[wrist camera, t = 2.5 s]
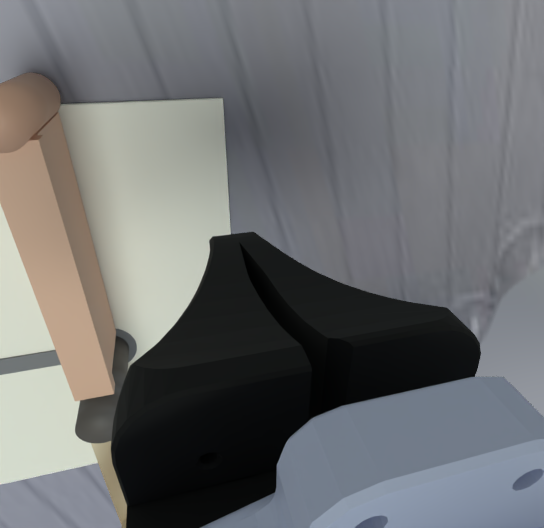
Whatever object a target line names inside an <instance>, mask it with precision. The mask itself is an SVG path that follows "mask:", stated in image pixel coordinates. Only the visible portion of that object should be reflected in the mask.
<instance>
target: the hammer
mask: <svg viewBox="0 0 544 528" xmlns="http://www.w3.org/2000/svg"><path fill="white" fill-rule="evenodd" d="M128 359H129V345H128V343H127V342H126V341H125V340H124V339H123V338H121V337H118V336H116V338H115V348H114V357H113V366H112V375H113V378H114V382H115V390H114V394H112V395H107V396H101V397H96V398H91V399H85V400H80V404H79V409H78V415H77V420H76V426H75V433H76V435H77V437H78V438H79V439H81V440H83V441H85V442H88V443H91V445H92V448H93V451H94V453H95V456H96V458H97V461H98V464H99V466H100V469H101V472H102V474H103V477H104V480H105V482H106V485H107V488H108V490H109V493H110V496H111V498H112V501H113V504H114V506H115V509H116V512H117V514H118V517H119V519H120V522H121V524H122V528H126V517H127V504H126V501H125V498H124V496H123V493H122V490H121V487H120V484H119V481H118V478H117V476H116V473H115V470H114V467H113V464H112V457H111V440H112V429H113V420H114V415H115V410H116V407H117V402H118V399H119V395H120V392H121V389H122V386H123V383H124V380H125V377H126V375H127V372H128Z"/></svg>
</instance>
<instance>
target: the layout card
mask: <svg viewBox="0 0 544 528" xmlns="http://www.w3.org/2000/svg"><path fill="white" fill-rule="evenodd" d="M58 112H59V115H60V119H61V123H62V127H63V131H64V135H65V138H66V142H67V146H68V150H69V154H70V157H71V161H72V165H73V169H74V173H75V176H76V180H77V184H78V188H79V192H80V196H81V199H82V203H83V207H84V211H85V215H86V218H87V222H88V226H89V230H90V234H91V237H92V241H93V245H94V249H95V253H96V257H97V260H98V264H99V268H100V272H101V276H102V279H103V283H104V287H105V291H106V295H107V298H108V302H109V306H110V310H111V314H112V318H113V321H114V325H115V329H116V336H118V337H121V338H123V339H124V340H125V341H126V342H127V343H128V345H129V359H128V369H129V367H130V365H131V364H132V363H134V362H135V361H136V360H138V359H139V358H140V357H141V356H143V355H144V354H145V353H146V352H147V351H149V350H150V349H151V348H152V347H153V346H155V345H156V344H157V343H158V342H159V341H160V340H161V339H162V338H163V337H164V336H165V335H166V333H167V332H168V331H169V330H170V329H171V328H172V327H173V326H174V325H175V323H176V322H177V321H178V319H179V318H180V317H181V315H182V314H183V312H184V311H185V310H186V308H187V307H188V305H189V303H190V302H191V300H192V298H193V297H194V295H195V293H196V291H197V289H198V287H199V284H200V282H201V280H202V277H203V275H204V272H205V269H206V266H207V262H208V259H209V254H210V245H209V240H210V239H211V238H212V237H213V236H222V235H230V234H231V229H230V212H229V194H228V177H227V160H226V142H225V125H224V108H223V98H203V99H178V100H153V101H127V102H102V103H77V104H60V108H59V110H58ZM79 404H80V401H75V400H74V397H73V395H72V392H71V390H70V387H69V384H68V382H67V379H66V376H65V374H64V371H63V368H62V366H61V363H60V360H59V358H58V355H57V352H56V350H55V347H54V344H53V342H52V339H51V336H50V334H49V331H48V329H47V326H46V323H45V321H44V318H43V315H42V313H41V310H40V307H39V305H38V302H37V299H36V297H35V294H34V291H33V289H32V286H31V283H30V281H29V278H28V275H27V273H26V270H25V268H24V265H23V262H22V260H21V257H20V254H19V252H18V249H17V246H16V244H15V241H14V238H13V236H12V233H11V230H10V228H9V225H8V222H7V220H6V217H5V215H4V212H3V209H2V207H1V204H0V485H1V484H5V483H10V482H14V481H19V480H23V479H28V478H32V477H37V476H41V475H46V474H50V473H55V472H59V471H64V470H68V469H73V468H77V467H82V466H86V465H91V464H95V463H98V461H97V458H96V456H95V453H94V451H93V448H92V445H91V443H88V442H85V441H83V440H81V439H79V438H78V437H77V435H76V433H75V426H76V420H77V415H78V409H79Z"/></svg>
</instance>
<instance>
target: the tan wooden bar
mask: <svg viewBox="0 0 544 528" xmlns="http://www.w3.org/2000/svg"><path fill="white" fill-rule="evenodd" d="M60 104H61V98H60V94H59V91H58V89H57V87H56V86H55V85H54V83H53V82H52V81H50V80H49V79H48V78H46V77H45V76H43V75H41V74H37V73H24V74H22V75H19V76H17V77H15V78H12V79H10V80H8V81H5V82H3V83H1V84H0V204H1V207H2V209H3V212H4V215H5V217H6V220H7V222H8V225H9V228H10V230H11V233H12V236H13V238H14V241H15V244H16V246H17V249H18V252H19V254H20V257H21V260H22V262H23V265H24V268H25V270H26V273H27V275H28V278H29V281H30V283H31V286H32V289H33V291H34V294H35V297H36V299H37V302H38V305H39V307H40V310H41V313H42V315H43V318H44V321H45V323H46V326H47V329H48V331H49V334H50V336H51V339H52V342H53V344H54V347H55V350H56V352H57V355H58V358H59V360H60V363H61V366H62V368H63V371H64V374H65V376H66V379H67V382H68V384H69V387H70V390H71V392H72V395H73V397H74V400H75V401H80V400H85V399H91V398H96V397H101V396H107V395H112V394H114V390H115V382H114V378H113V375H112V366H113V357H114V348H115V338H116V329H115V325H114V321H113V318H112V314H111V310H110V306H109V302H108V298H107V295H106V291H105V287H104V283H103V279H102V276H101V272H100V268H99V264H98V260H97V257H96V253H95V249H94V245H93V241H92V237H91V234H90V230H89V226H88V222H87V218H86V215H85V211H84V207H83V203H82V199H81V196H80V192H79V188H78V184H77V180H76V176H75V173H74V169H73V165H72V161H71V157H70V154H69V150H68V146H67V142H66V138H65V135H64V131H63V127H62V123H61V119H60V115H59V112H58V110H59V108H60Z"/></svg>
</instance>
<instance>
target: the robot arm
mask: <svg viewBox="0 0 544 528" xmlns="http://www.w3.org/2000/svg"><path fill="white" fill-rule="evenodd" d="M209 245H210V254H209V259H208V262H207V266H206V269H205V272H204V275H203V277H202V280H201V282H200V284H199V287H198V289H197V291H196V293H195V295H194V297H193V298H192V300H191V302H190V303H189V305H188V307H187V308H186V310H185V311H184V312H183V314H182V315H181V317H180V318H179V319H178V321H177V322H176V323H175V325H174V326H173V327H172V328H171V329H170V330H169V331H168V332H167V333H166V335H165V336H164V337H163V338H162V339H161V340H160V341H159V342H158V343H157V344H156V345H155V346H153V347H152V348H151V349H150V350H149V351H147V352H146V353H145V354H144V355H143V356H141V357H140V358H139V359H138V360H136V361H135V362H134V363H132V364H131V365H130V367H129V369H128V372H127V375H126V377H125V380H124V383H123V386H122V389H121V392H120V395H119V399H118V402H117V407H116V410H115V415H114V420H113V429H112V440H111V457H112V464H113V467H114V470H115V473H116V476H117V478H118V481H119V484H120V487H121V490H122V493H123V496H124V498H125V501H126V504H127V517H126V528H544V417H543V416H542V415H541V414H540V413H539V412H538V411H537V410H536V409H535V408H534V407H533V406H532V405H531V404H530V403H529V402H528V401H527V400H526V399H525V398H524V397H523V396H522V394H521V393H520V392H519V391H518V390H517V389H516V388H514V387H513V386H512V385H511V384H510V383H509V382H508V381H507V380H506V379H505V378H504V377H475V374H476V371H477V368H478V364H479V359H480V355H481V352H480V343H479V341H478V340H477V338H476V337H475V335H474V334H473V333H472V332H471V331H470V330H469V329H468V328H467V327H466V326H465V325H464V324H463V323H462V322H461V321H460V320H459V319H458V318H457V317H456V316H455V315H454V314H453V313H452V312H451V311H450V310H449V309H448V308H444V307H438V306H431V305H425V304H418V303H411V302H406V301H401V300H397V299H392V298H388V297H384V296H380V295H376V294H373V293H369V292H366V291H363V290H360V289H357V288H354V287H351V286H348V285H345V284H342V283H340V282H337V281H335V280H333V279H330V278H328V277H326V276H324V275H321V274H319V273H317V272H315V271H313V270H311V269H310V268H308V267H306V266H304V265H302V264H301V263H299V262H297V261H296V260H294V259H292V258H291V257H289V256H288V255H286V254H284V253H283V252H281V251H280V250H279V249H277V248H276V247H274V246H273V245H271V244H270V243H269V242H267V241H266V240H264V239H263V238H262V237H260V236H259V235H257V234H256V233H254V232H248V233H239V234H230V235H222V236H213V237H212V238H211V239H210V240H209Z"/></svg>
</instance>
